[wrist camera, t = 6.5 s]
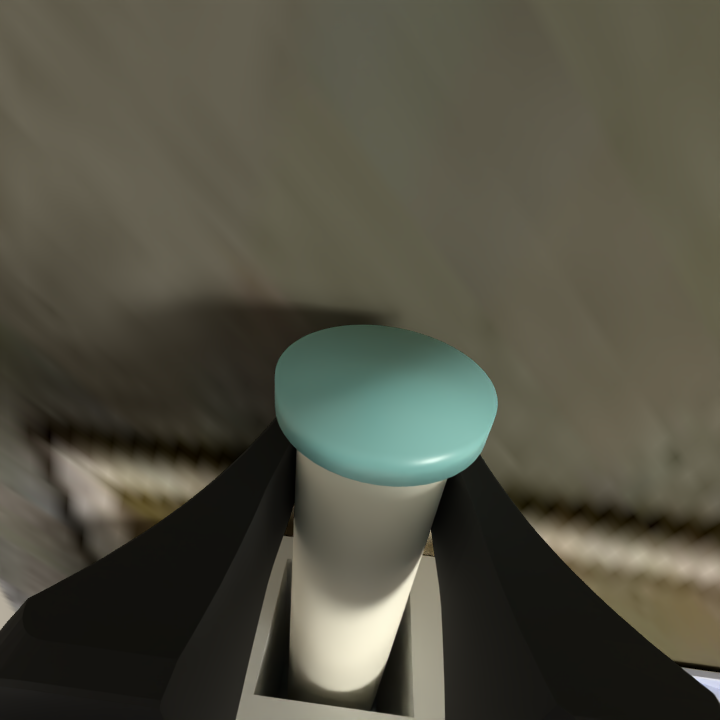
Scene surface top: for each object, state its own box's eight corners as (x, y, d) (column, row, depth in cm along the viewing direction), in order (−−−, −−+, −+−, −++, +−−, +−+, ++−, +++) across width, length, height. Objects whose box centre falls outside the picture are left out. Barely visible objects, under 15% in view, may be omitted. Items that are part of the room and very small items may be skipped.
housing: (507, 567, 17) (560, 773, 12) (446, 681, 23) (462, 850, 18) (194, 523, 17) (101, 707, 12) (216, 648, 24) (162, 806, 18)
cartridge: (475, 338, 11) (526, 471, 7) (385, 635, 19) (383, 772, 15) (301, 314, 11) (241, 433, 7) (289, 621, 19) (261, 754, 15)
